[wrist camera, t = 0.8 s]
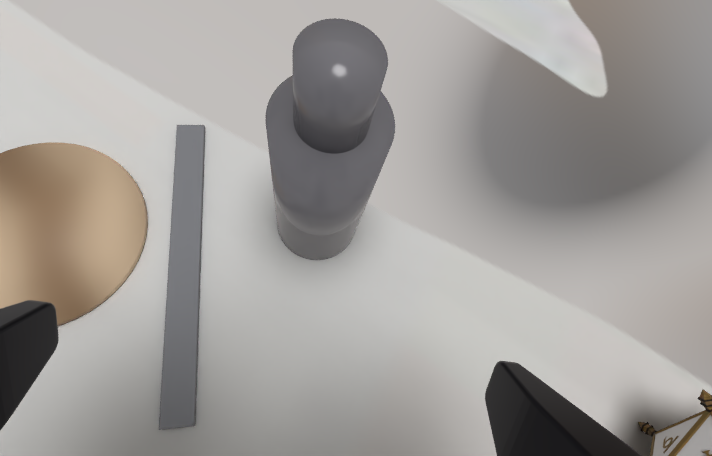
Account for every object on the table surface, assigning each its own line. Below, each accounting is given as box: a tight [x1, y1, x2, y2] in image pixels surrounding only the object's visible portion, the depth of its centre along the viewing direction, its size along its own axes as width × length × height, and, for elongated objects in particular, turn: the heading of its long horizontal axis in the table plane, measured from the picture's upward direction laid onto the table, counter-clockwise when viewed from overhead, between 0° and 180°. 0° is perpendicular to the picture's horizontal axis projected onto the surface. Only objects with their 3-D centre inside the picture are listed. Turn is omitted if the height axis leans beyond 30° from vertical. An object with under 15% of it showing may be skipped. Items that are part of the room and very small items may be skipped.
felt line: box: [159, 125, 205, 430], centre depth 21 cm, size 16×2×1 cm, turn 5°
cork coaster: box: [0, 143, 148, 326], centre depth 21 cm, size 10×10×1 cm
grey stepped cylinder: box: [266, 19, 395, 260], centre depth 17 cm, size 4×4×13 cm
